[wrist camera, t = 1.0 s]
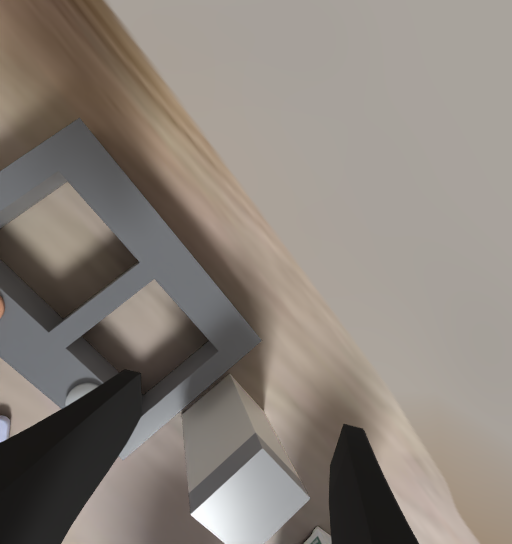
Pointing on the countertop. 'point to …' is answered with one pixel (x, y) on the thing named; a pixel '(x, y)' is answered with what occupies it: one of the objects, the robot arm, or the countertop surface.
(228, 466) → the plug
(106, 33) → the countertop surface
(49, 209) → the countertop surface
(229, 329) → the socket board
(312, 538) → the syrup box
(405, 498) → the countertop surface
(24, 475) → the robot arm
